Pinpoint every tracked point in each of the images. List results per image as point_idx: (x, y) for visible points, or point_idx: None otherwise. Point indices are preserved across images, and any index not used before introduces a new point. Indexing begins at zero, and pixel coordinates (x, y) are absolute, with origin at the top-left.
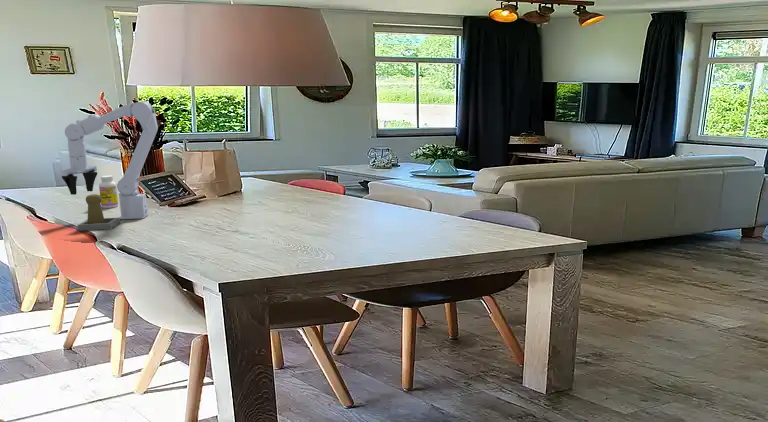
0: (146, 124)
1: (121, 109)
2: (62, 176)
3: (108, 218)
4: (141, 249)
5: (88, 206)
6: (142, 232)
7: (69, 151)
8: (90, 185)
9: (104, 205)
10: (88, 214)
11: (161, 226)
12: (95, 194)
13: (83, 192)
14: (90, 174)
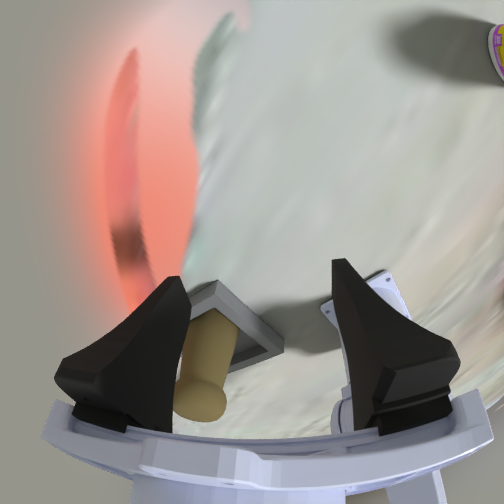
0: None
1: None
2: (61, 382)
3: (257, 340)
4: (174, 431)
5: (180, 376)
6: (234, 409)
7: None
8: (342, 325)
9: (495, 54)
10: (182, 353)
11: (290, 406)
12: (202, 420)
13: None
14: (359, 420)
